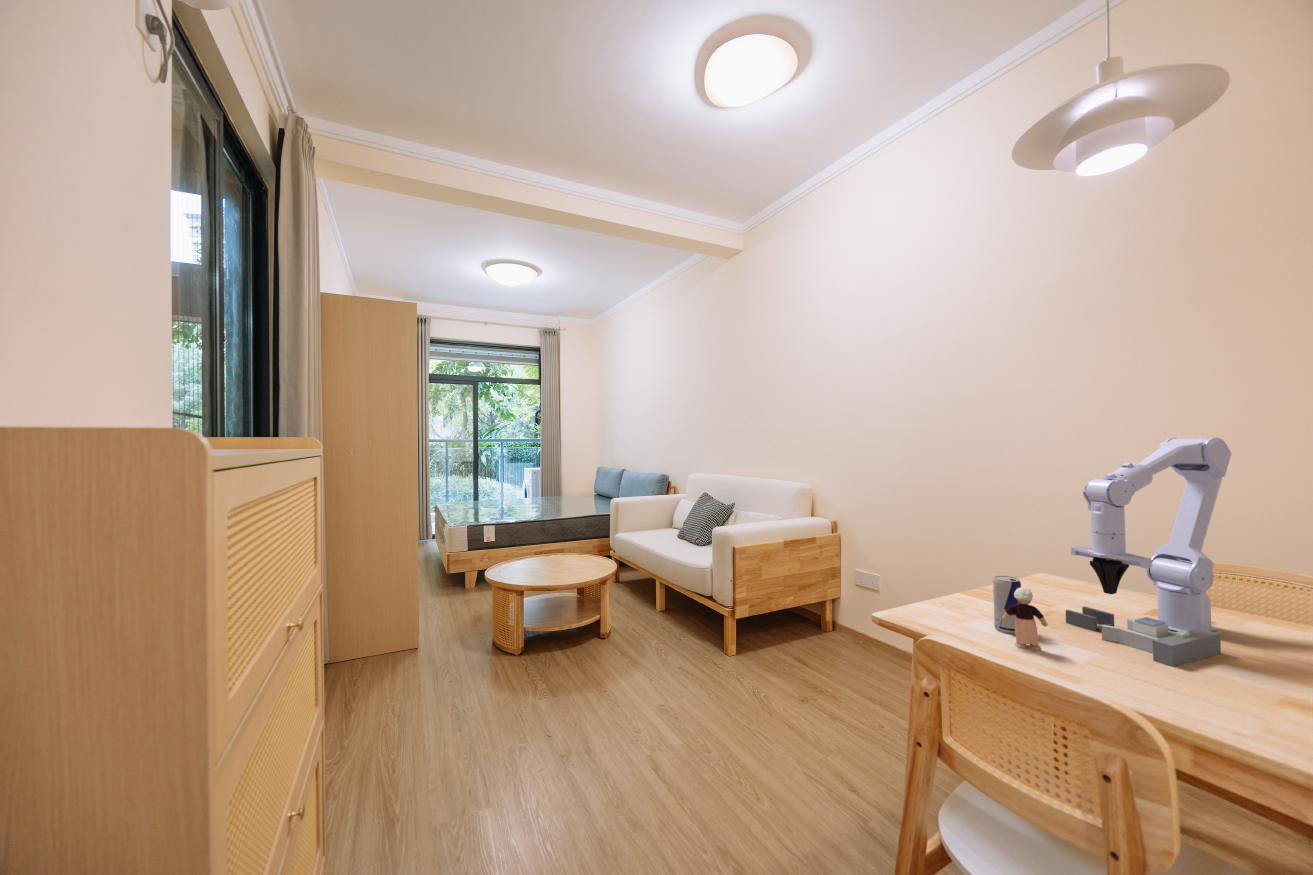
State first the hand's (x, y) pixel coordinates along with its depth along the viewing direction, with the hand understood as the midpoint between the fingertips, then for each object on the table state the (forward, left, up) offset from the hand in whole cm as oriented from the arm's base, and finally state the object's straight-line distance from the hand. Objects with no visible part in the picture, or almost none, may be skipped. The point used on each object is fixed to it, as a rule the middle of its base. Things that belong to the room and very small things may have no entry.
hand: (1110, 593), depth 114 cm
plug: (0, +7, -9) cm, 12 cm away
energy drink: (+18, -10, -10) cm, 23 cm away
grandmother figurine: (+24, -2, -10) cm, 26 cm away
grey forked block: (0, +8, -9) cm, 12 cm away
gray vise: (-5, -5, -9) cm, 12 cm away
